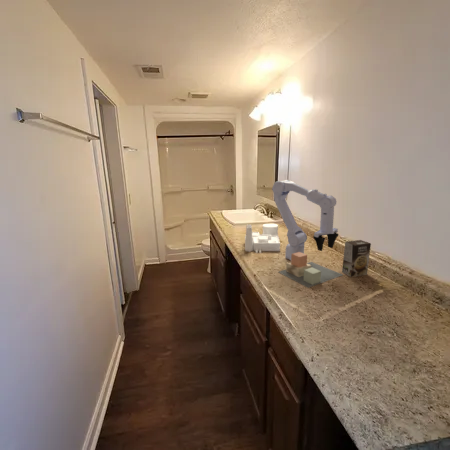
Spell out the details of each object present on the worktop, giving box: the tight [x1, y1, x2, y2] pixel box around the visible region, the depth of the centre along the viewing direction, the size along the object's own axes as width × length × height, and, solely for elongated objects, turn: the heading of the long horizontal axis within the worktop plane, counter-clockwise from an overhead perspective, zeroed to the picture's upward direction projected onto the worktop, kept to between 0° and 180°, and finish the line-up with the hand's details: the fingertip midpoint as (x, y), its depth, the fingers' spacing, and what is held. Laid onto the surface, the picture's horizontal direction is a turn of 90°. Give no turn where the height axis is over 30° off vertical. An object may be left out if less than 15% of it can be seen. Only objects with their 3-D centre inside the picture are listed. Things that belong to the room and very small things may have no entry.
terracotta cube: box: [290, 252, 308, 267], centre depth 125 cm, size 5×5×5 cm
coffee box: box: [341, 239, 372, 278], centre depth 122 cm, size 9×6×16 cm
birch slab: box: [285, 261, 311, 277], centre depth 126 cm, size 8×8×4 cm
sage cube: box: [304, 268, 321, 285], centre depth 116 cm, size 5×5×5 cm
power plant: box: [244, 223, 281, 254], centre depth 170 cm, size 35×24×15 cm
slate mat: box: [278, 261, 344, 289], centre depth 125 cm, size 19×23×1 cm
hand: (325, 248), depth 129 cm, fingers open, 7 cm apart
